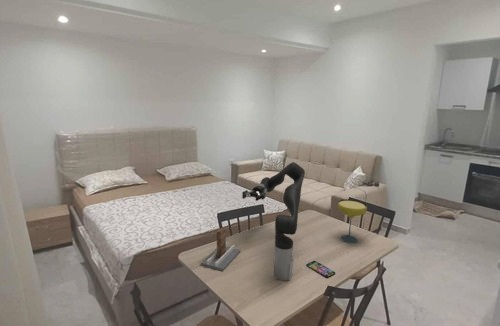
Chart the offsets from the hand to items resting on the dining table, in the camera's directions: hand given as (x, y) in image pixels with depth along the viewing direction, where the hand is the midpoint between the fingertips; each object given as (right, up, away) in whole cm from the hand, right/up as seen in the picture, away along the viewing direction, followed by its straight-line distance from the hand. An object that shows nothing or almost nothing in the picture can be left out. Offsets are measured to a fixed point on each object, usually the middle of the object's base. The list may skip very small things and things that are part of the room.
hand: (249, 198), depth 170 cm
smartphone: (+39, -38, -16) cm, 56 cm away
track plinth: (-16, -34, -7) cm, 38 cm away
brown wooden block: (-16, -32, -7) cm, 37 cm away
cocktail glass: (+67, -30, +19) cm, 76 cm away
